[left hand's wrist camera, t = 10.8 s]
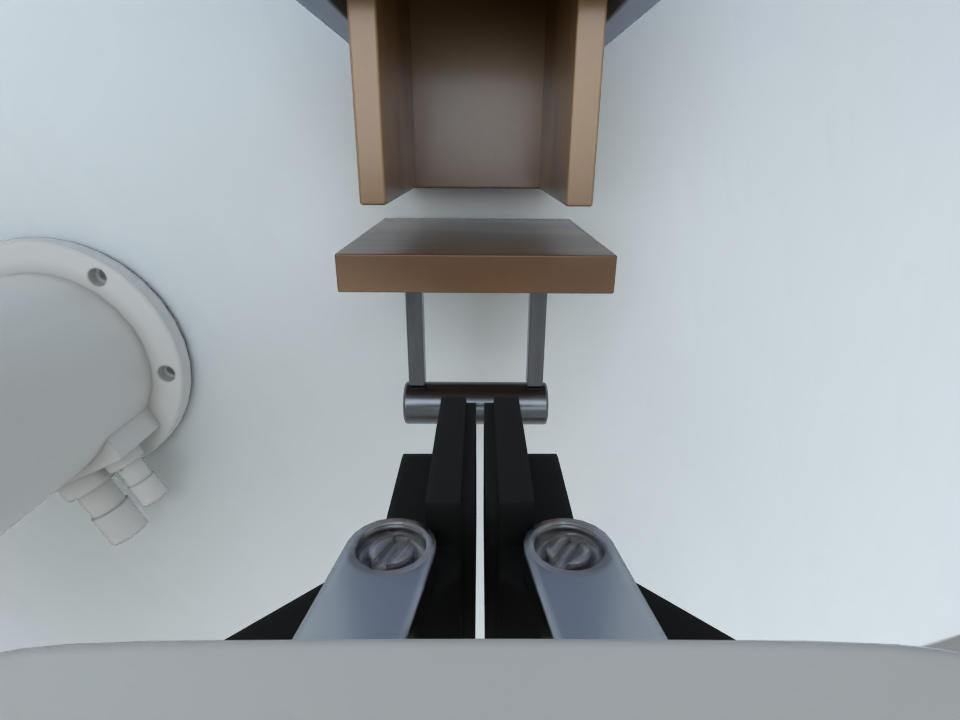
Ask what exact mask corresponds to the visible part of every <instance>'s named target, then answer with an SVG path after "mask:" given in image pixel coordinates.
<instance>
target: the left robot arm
mask: <svg viewBox="0 0 960 720" xmlns="http://www.w3.org/2000/svg"><path fill="white" fill-rule="evenodd" d="M190 389H191V368H190V360H189V357H188V353H187V349H186V345H185V341H184V339H183V337H182V335H181V333H180V331H179V328H178V326H177V324H176V322H175V320H174V318H173V317H172V315H171V314H170V313H169V311H168V310H167V308H166V307H165V305H164V304H163V302H162V301H161V299H160V298H159V297H158V296H157V295H156V294H155V293H154V292H153V291H152V290H151V289H150V288H149V287H148V286H147V285H146V284H145V283H144V282H143V281H142V280H141V279H140V278H139V277H137V276H136V275H135V274H133V273H132V272H131V271H130V270H128V269H127V268H126V267H124V266H123V265H122V264H120V263H118V262H117V261H115V260H113V259H111V258H109V257H107V256H106V255H104V254H102V253H100V252H98V251H96V250H93V249H91V248H88V247H85V246H82V245H79V244H76V243H74V242H70V241H64V240H58V239H53V238H47V237H39V238H18V239H13V240H7V241H0V535H2V534H3V533H4V532H5V531H7V530H8V529H9V528H10V527H12V526H13V525H14V524H15V523H17V522H18V521H19V520H20V519H22V518H23V517H24V516H25V515H26V514H28V513H29V512H30V511H31V510H33V509H34V508H35V507H36V506H38V505H39V504H40V503H41V502H43V501H44V500H45V499H46V498H48V497H49V496H50V495H51V494H53V493H54V492H55V491H56V490H57V491H58V492H59V493H60V494H61V496H62V497H63V498H64V499H65V500H66V501H67V502H72V501H75V500H78V501H79V502H80V503H81V504H82V506H83V507H84V508H85V509H86V510H87V512H88V513H89V514H90V515H91V516H92V519H91V520H92V521H93V523H94V524H95V525H96V526H97V527H98V528H99V530H100V531H101V532H102V533H103V534H104V535H105V537H106V538H107V539H108V540H109V541H110V543H111V544H112V545H117V544H120V543H122V542H124V541H126V540H128V539H129V538H131V537H132V536H134V535H135V534H136V533H138V532H139V531H140V530H141V529H142V528H143V527H144V526H145V525H146V524H147V522H148V520H147V519H146V517H145V516H144V515H143V514H142V513H141V511H140V510H139V509H138V508H137V506H136V505H135V504H134V503H133V501H132V500H131V499H130V498H129V496H128V495H124V494H123V493H122V491H121V490H120V489H119V488H118V486H117V485H116V484H115V483H114V481H113V480H112V479H111V477H112V476H113V475H114V474H115V473H116V472H117V473H118V474H119V475H120V477H121V478H122V479H123V480H124V482H125V483H126V484H127V485H128V487H127V488H128V489H129V490H130V491H131V493H132V494H133V495H134V496H135V497H136V499H137V500H138V501H139V502H140V504H141V505H142V506H143V507H145V506H148V505H150V504H152V503H154V502H156V501H157V500H158V499H160V498H161V497H162V496H163V495H165V494H166V493H167V491H168V489H167V488H166V487H165V485H164V484H163V483H162V482H161V480H160V479H159V478H158V476H157V475H156V474H155V473H154V471H151V470H150V468H149V467H148V466H147V465H146V463H145V462H144V461H143V460H142V458H143V457H145V456H146V455H148V454H149V453H151V452H152V451H154V450H155V449H156V448H158V447H159V446H160V445H161V444H162V443H163V442H164V441H165V440H166V439H167V438H168V437H169V436H170V435H171V434H172V432H173V431H174V430H175V428H176V427H177V426H178V424H179V423H180V422H181V419H182V417H183V415H184V412H185V410H186V407H187V405H188V401H189V395H190ZM475 604H476V403H467V400H466V396H442V397H441V403H440V409H439V415H438V422H437V428H436V434H435V441H434V447H433V453H432V454H403V457H402V460H401V464H400V468H399V472H398V476H397V480H396V484H395V488H394V491H393V495H392V499H391V503H390V507H389V511H388V515H387V519H384V520H379V521H376V522H373V523H371V524H368V525H366V526H364V527H363V528H361V529H360V530H358V531H357V532H355V533H354V534H353V536H352V537H351V538H350V539H349V541H348V542H347V544H346V545H345V547H344V549H343V551H342V553H341V554H340V556H339V558H338V560H337V561H336V563H335V565H334V567H333V568H332V570H331V572H330V574H329V575H328V577H327V579H326V581H325V582H324V583H323V584H321V585H319V586H318V587H316V588H314V589H312V590H311V591H309V592H307V593H305V594H304V595H302V596H300V597H298V598H297V599H295V600H293V601H291V602H290V603H288V604H286V605H284V606H283V607H281V608H279V609H278V610H276V611H274V612H272V613H271V614H269V615H267V616H265V617H264V618H262V619H260V620H258V621H257V622H255V623H253V624H251V625H250V626H248V627H246V628H244V629H243V630H241V631H239V632H237V633H236V634H234V635H232V636H230V637H229V638H227V639H225V640H200V641H136V642H109V643H82V644H62V645H53V646H43V647H33V648H23V649H17V650H11V651H6V652H1V653H0V720H960V653H959V652H954V651H948V650H943V649H936V648H927V647H917V646H907V645H898V644H878V643H851V642H825V641H762V640H735V639H733V638H731V637H730V636H728V635H726V634H724V633H723V632H721V631H719V630H717V629H716V628H714V627H712V626H710V625H709V624H707V623H705V622H703V621H702V620H700V619H698V618H696V617H695V616H693V615H691V614H689V613H688V612H686V611H684V610H682V609H681V608H679V607H677V606H676V605H674V604H672V603H670V602H669V601H667V600H665V599H663V598H662V597H660V596H658V595H656V594H655V593H653V592H651V591H649V590H648V589H646V588H644V587H642V586H641V585H639V584H637V583H636V582H635V581H634V579H633V577H632V575H631V574H630V572H629V570H628V568H627V567H626V565H625V563H624V561H623V560H622V558H621V556H620V554H619V553H618V551H617V549H616V547H615V545H614V544H613V542H612V541H611V539H610V538H609V537H608V536H607V534H606V533H605V532H603V531H602V530H600V529H599V528H597V527H596V526H594V525H592V524H589V523H587V522H584V521H581V520H576V519H573V515H572V511H571V507H570V503H569V499H568V495H567V491H566V488H565V484H564V480H563V476H562V472H561V468H560V464H559V460H558V457H557V454H528V453H527V447H526V441H525V434H524V428H523V422H522V415H521V409H520V403H519V397H518V396H494V400H493V403H484V604H485V639H475Z"/></svg>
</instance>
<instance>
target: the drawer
mask: <svg viewBox="0 0 960 720" xmlns="http://www.w3.org/2000/svg"><path fill="white" fill-rule="evenodd" d="M346 1H347V16H348V31H349V46H350V60H351V75H352V90H353V105H354V120H355V135H356V150H357V165H358V180H359V195H360V203H361V204H362V205H385V204H387V203H389V202H391V201H392V200H394V199H396V198H398V197H399V196H401V195H403V194H405V193H406V192H408V191H410V190H411V189H413V188H515V189H541V190H543V191H544V192H546V193H547V194H549V195H551V196H552V197H554V198H555V199H557V200H558V201H560V202H562V203H563V204H565V205H566V206H592V203H593V189H594V176H595V162H596V149H597V135H598V122H599V108H600V95H601V81H602V68H603V55H604V41H605V28H606V14H607V1H608V0H346ZM616 261H617V256H616V255H615V254H614V253H612V252H611V251H610V250H608V249H607V248H606V247H604V246H603V245H602V244H601V243H599V242H598V241H597V240H595V239H594V238H593V237H592V236H590V235H589V234H588V233H586V232H585V231H584V230H582V229H581V228H580V227H579V226H577V225H576V224H575V223H573V222H572V221H571V220H569V219H439V218H385V219H383V220H382V221H381V222H379V223H378V224H377V225H375V226H374V227H372V228H371V229H370V230H368V231H367V232H365V233H364V234H363V235H361V236H360V237H358V238H357V239H356V240H354V241H353V242H351V243H350V244H349V245H347V246H346V247H344V248H343V249H342V250H340V251H339V252H338V253H336V254H335V263H336V275H337V286H338V291H339V292H405V293H406V317H407V341H408V365H409V382H407V383H406V384H405V388H404V398H403V412H404V419H405V422H406V423H408V424H437V422H438V415H439V409H440V403H441V397H442V396H466V400H467V403H476V424H484V403H493V400H494V396H518V397H519V403H520V409H521V415H522V422H523V424H546V422H547V417H548V390H547V386H546V383H544V382H543V365H544V345H545V325H546V304H547V293H601V294H612V293H613V292H614V283H615V272H616ZM423 292H430V293H529V310H528V337H527V363H526V382H426V360H425V326H424V293H423Z"/></svg>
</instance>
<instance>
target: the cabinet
mask: <svg viewBox="0 0 960 720" xmlns="http://www.w3.org/2000/svg"><path fill="white" fill-rule="evenodd" d="M296 1H298V2H299V3H300V4H301V5H303V6H304V7H305V8H306V9H307V10H309V11H310V12H311V13H312V14H314V15H315V16H316V17H317V18H319V19H320V20H321V21H322V22H323V23H325V24H326V25H327V26H328V27H330V28H331V29H332V30H333V31H334V32H336V33H337V34H338V35H339V36H341V37H342V38H343V39H344V40H345V41H347V42H348V43H349V31H348V16H347V1H346V0H296ZM659 1H660V0H608V1H607V14H606V28H605V41H604V47H605V46H606V45H607V44H608V43H610V42H611V41H612V40H613V39H614V38H616V37H617V36H618V35H619V34H620V33H622V32H623V31H624V30H625V29H626V28H628V27H629V26H630V25H631V24H632V23H634V22H635V21H636V20H637V19H638V18H640V17H641V16H642V15H643V14H644V13H646V12H647V11H648V10H649V9H650V8H652V7H653V6H654V5H655V4H657V3H658V2H659Z"/></svg>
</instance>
